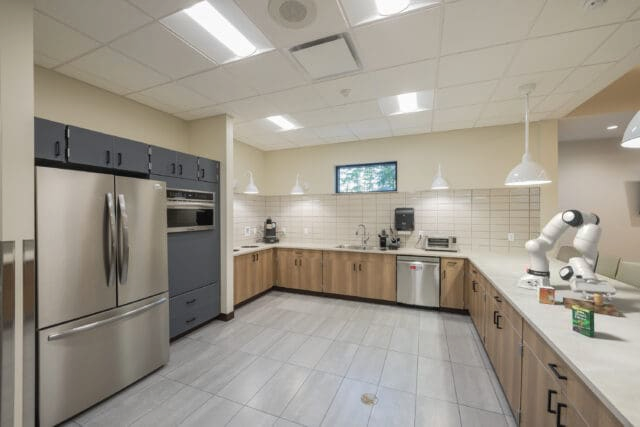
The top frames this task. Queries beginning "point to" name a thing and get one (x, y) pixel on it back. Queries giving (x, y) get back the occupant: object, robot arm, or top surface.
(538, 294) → the small box
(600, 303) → the oak peg
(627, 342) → the top surface
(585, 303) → the walnut board
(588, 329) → the coffee box
